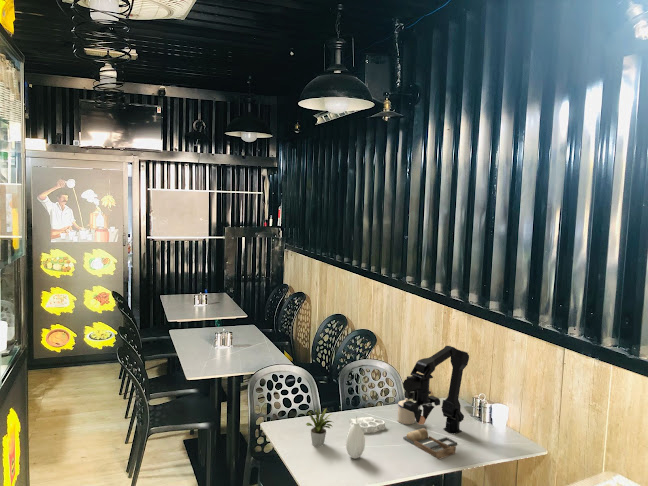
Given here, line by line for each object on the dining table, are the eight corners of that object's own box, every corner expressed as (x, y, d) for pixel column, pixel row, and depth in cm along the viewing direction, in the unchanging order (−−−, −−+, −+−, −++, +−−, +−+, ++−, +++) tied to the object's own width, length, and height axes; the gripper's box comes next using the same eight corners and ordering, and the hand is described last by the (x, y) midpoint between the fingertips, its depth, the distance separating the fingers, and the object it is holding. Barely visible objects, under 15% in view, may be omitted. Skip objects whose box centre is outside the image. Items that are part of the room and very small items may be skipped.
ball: (427, 425, 236) (427, 416, 235) (420, 426, 233) (421, 418, 233) (420, 421, 239) (421, 413, 239) (414, 423, 237) (415, 415, 236)
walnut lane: (430, 440, 239) (430, 433, 238) (455, 453, 226) (455, 446, 226) (413, 445, 232) (413, 438, 232) (438, 459, 220) (438, 452, 220)
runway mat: (418, 434, 244) (418, 432, 244) (440, 446, 233) (441, 443, 232) (403, 439, 238) (403, 436, 238) (425, 451, 227) (425, 448, 227)
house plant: (305, 454, 219) (307, 416, 218) (295, 440, 232) (297, 405, 231) (336, 449, 225) (338, 413, 224) (324, 436, 238) (326, 402, 237)
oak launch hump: (420, 437, 243) (420, 426, 242) (427, 441, 238) (428, 430, 238) (406, 441, 237) (406, 430, 237) (413, 445, 233) (414, 434, 233)
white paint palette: (375, 420, 259) (389, 432, 246) (342, 424, 253) (355, 437, 239) (375, 414, 259) (389, 425, 246) (343, 417, 253) (355, 430, 239)
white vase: (352, 451, 224) (354, 411, 223) (367, 457, 219) (369, 416, 218) (341, 457, 218) (343, 416, 217) (356, 464, 213) (358, 421, 212)
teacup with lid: (418, 423, 257) (420, 400, 256) (403, 426, 253) (404, 402, 253) (405, 414, 268) (406, 392, 267) (390, 416, 264) (391, 394, 264)
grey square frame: (446, 438, 241) (446, 437, 241) (457, 444, 235) (457, 442, 235) (436, 441, 237) (436, 440, 237) (447, 447, 232) (447, 445, 232)
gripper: (424, 380, 247) (422, 411, 248) (395, 386, 236) (393, 419, 237) (441, 387, 238) (439, 420, 239) (413, 393, 227) (411, 428, 228)
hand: (420, 421), depth 236 cm, fingers closed on ball, 4 cm apart
